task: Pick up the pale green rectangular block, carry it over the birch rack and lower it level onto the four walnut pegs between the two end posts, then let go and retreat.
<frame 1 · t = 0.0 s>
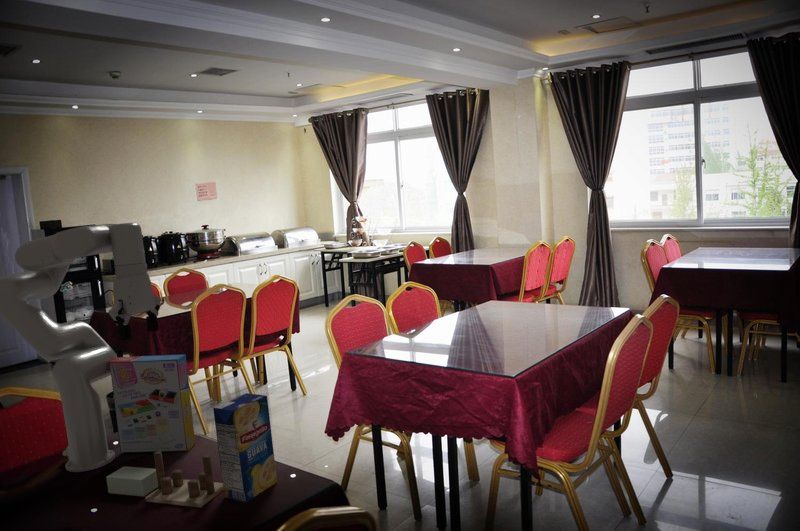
hand: (140, 335, 163), 37 cm above the table, tool pointing down, fingers open, 9 cm apart
game box: (158, 449, 181), on the table, touching arm
beverage box: (251, 490, 150), on the table
rack: (186, 494, 150), on the table
pale green rectangular block: (135, 489, 156), on the table
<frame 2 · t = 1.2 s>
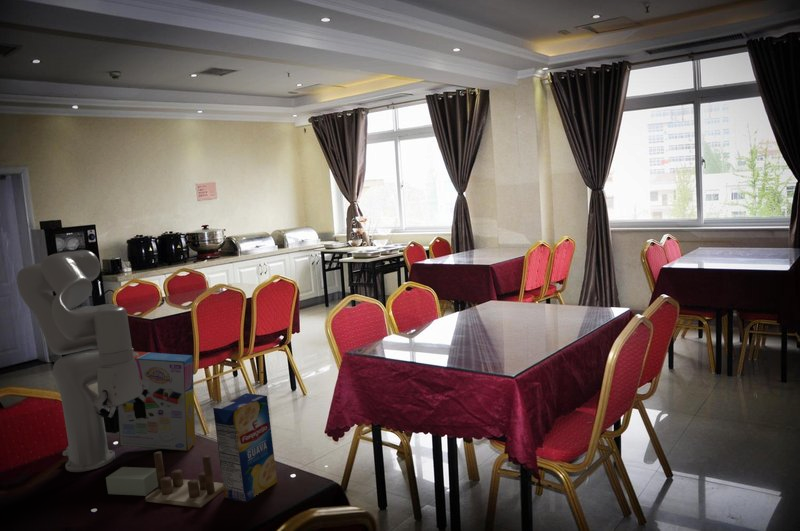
hand: (126, 424, 154), 17 cm above the table, tool pointing down, fingers open, 9 cm apart
game box: (157, 445, 180), point 1 cm above the table, touching arm
everything else where it was.
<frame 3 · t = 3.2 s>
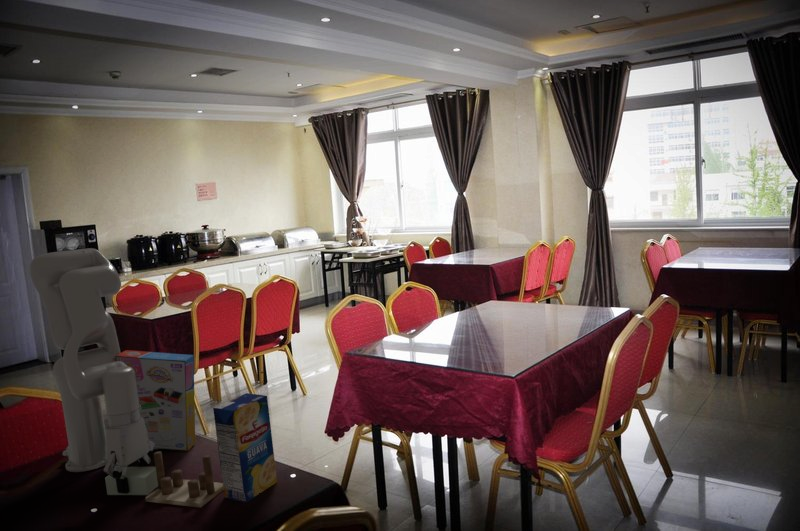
hand: (134, 485, 156), 1 cm above the table, tool pointing down, fingers closed on pale green rectangular block, 6 cm apart
pale green rectangular block: (134, 489, 156), on the table, touching gripper
everything else where it was.
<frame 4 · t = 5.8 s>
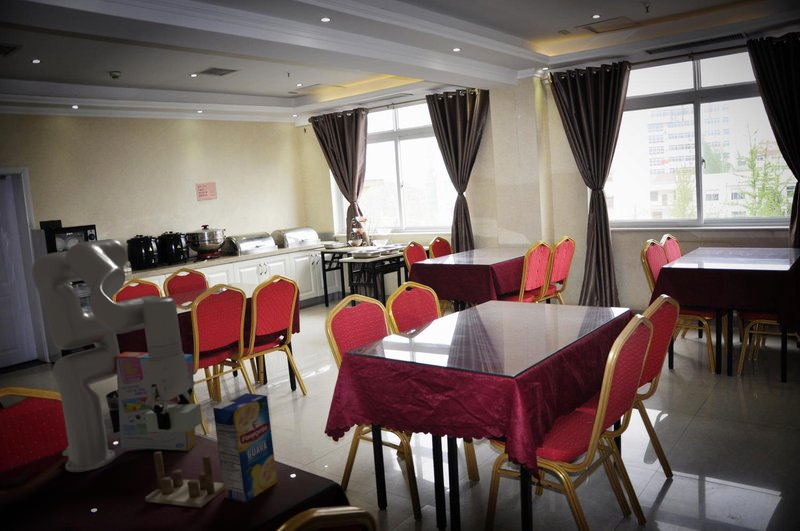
hand: (175, 422, 149), 18 cm above the table, tool pointing down, fingers closed on pale green rectangular block, 6 cm apart
pale green rectangular block: (175, 426, 149), point 17 cm above the table, touching gripper
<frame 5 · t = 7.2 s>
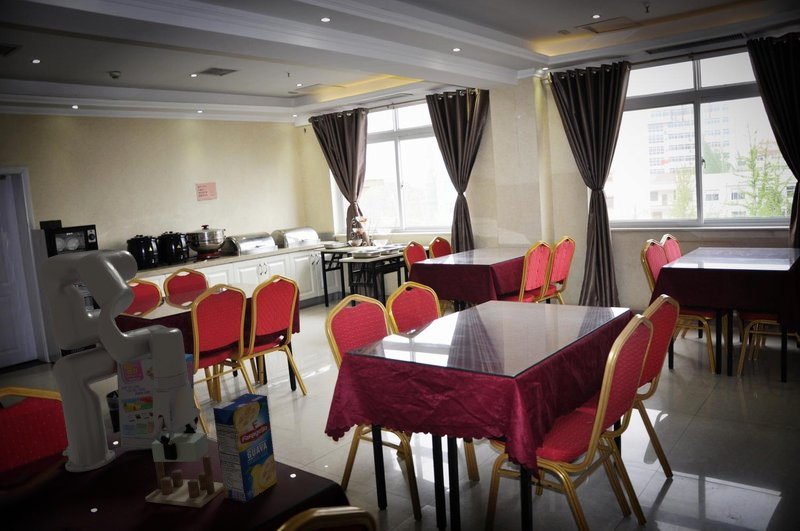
hand: (181, 452, 149), 11 cm above the table, tool pointing down, fingers closed on pale green rectangular block, 6 cm apart
pale green rectangular block: (181, 456, 149), point 10 cm above the table, touching gripper
when the fingers open (7 cm above the table, at t = 8.4 s): pale green rectangular block drops 1 cm, resting on rack.
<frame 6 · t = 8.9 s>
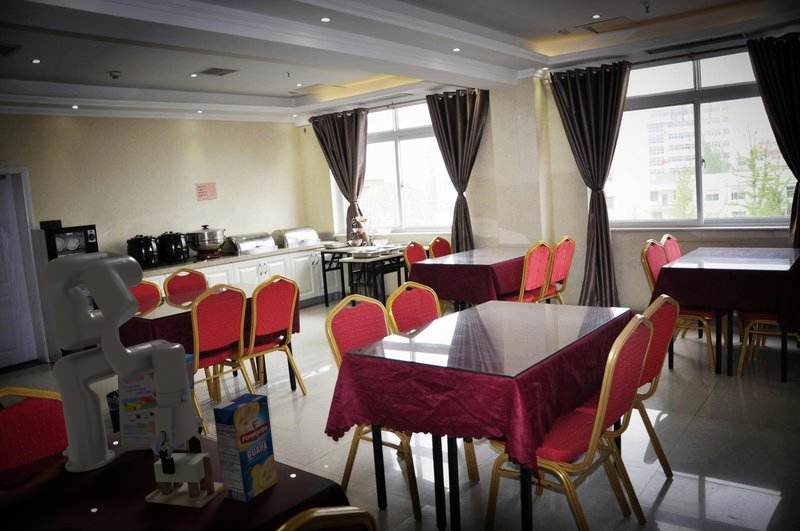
hand: (183, 464, 150), 8 cm above the table, tool pointing down, fingers open, 9 cm apart
pale green rectangular block: (183, 476, 150), point 4 cm above the table, touching rack
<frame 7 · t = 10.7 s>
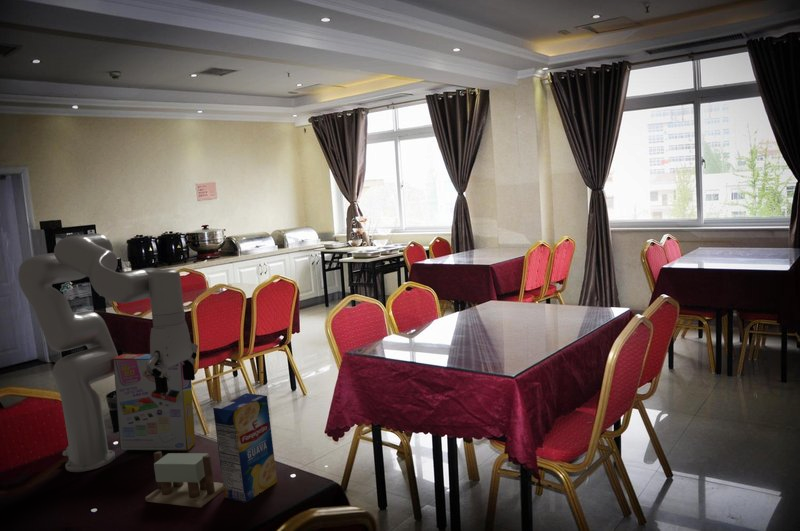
hand: (176, 385, 156), 25 cm above the table, tool pointing down, fingers open, 9 cm apart
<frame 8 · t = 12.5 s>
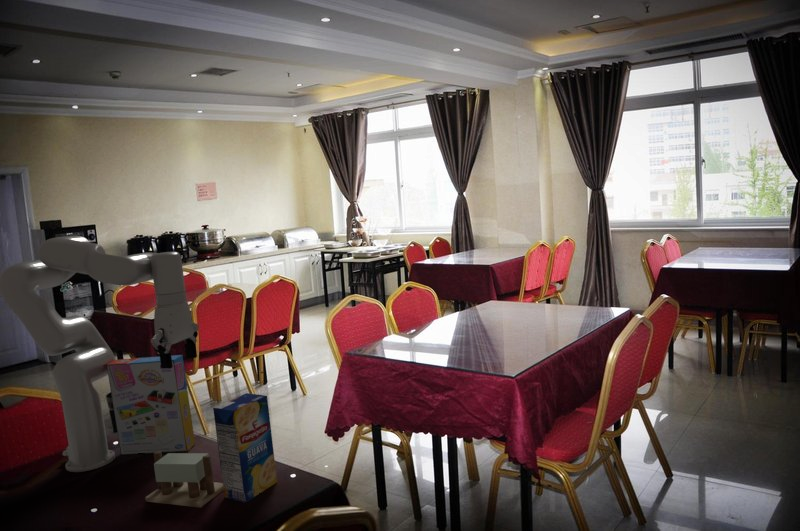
hand: (179, 362, 165), 28 cm above the table, tool pointing down, fingers open, 9 cm apart
game box: (158, 450, 181), on the table
everything else where it was.
at the end: pale green rectangular block 0.3 cm off-centre on the rack, point 4.5 cm above the rack's base; pale green rectangular block tilted 0°; the gripper is holding nothing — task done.
